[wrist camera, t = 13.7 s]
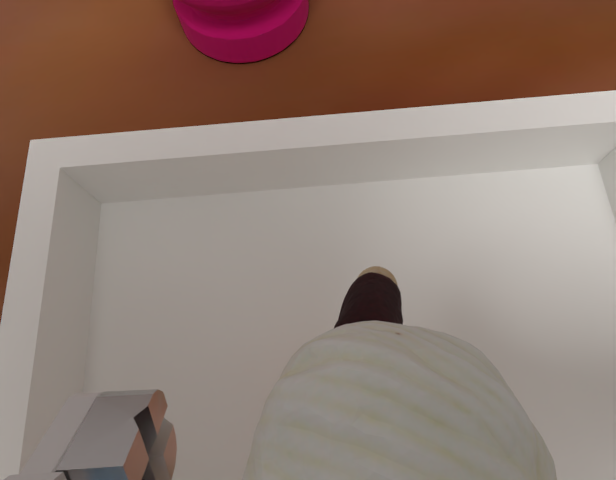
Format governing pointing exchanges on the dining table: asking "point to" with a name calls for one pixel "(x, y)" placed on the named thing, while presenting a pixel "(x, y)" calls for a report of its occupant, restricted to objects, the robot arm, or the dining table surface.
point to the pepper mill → (241, 26)
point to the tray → (315, 264)
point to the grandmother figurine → (392, 404)
